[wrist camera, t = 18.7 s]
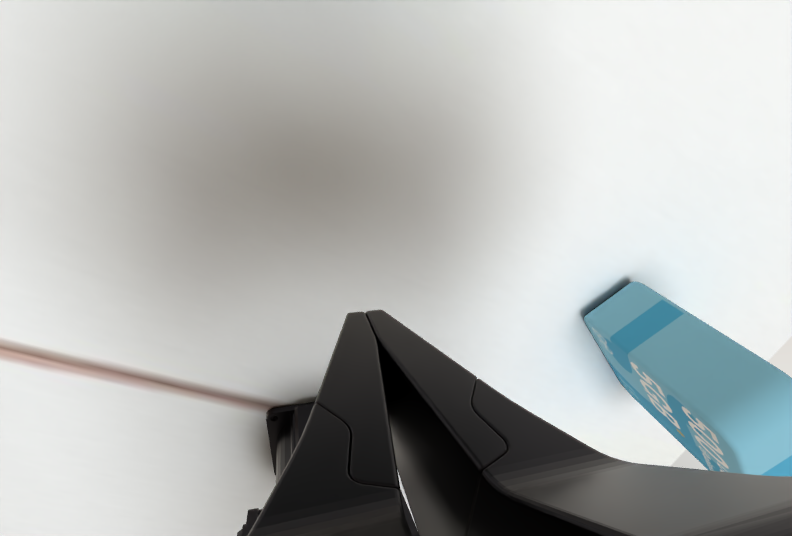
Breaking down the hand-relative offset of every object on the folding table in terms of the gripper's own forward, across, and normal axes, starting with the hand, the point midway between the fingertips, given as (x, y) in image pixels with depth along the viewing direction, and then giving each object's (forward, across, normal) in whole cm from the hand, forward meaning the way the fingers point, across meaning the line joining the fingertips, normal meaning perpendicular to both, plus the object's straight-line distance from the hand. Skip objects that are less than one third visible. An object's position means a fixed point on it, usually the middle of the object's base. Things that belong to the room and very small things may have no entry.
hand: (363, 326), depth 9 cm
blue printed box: (+13, -24, +13) cm, 30 cm away
